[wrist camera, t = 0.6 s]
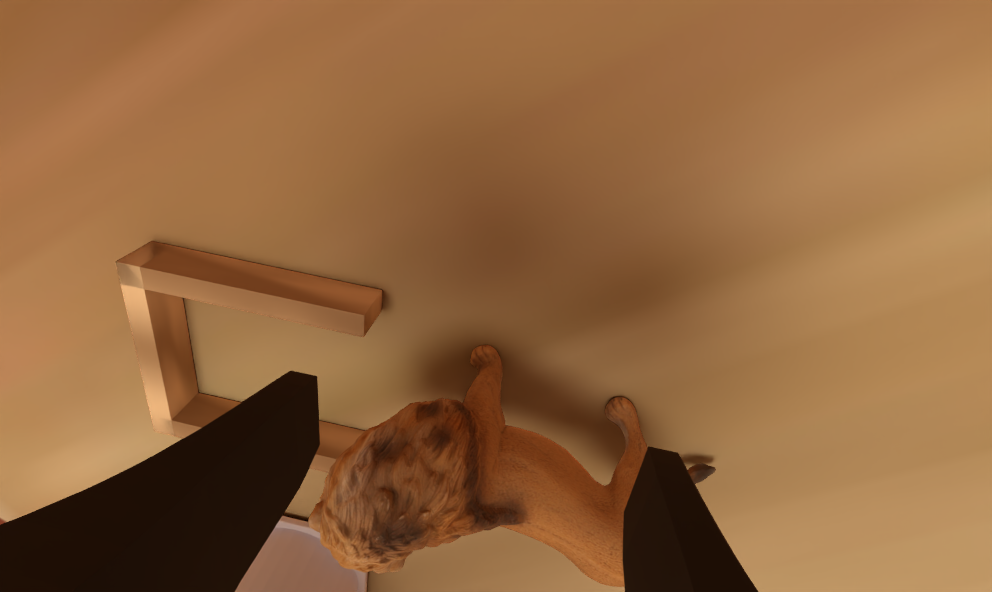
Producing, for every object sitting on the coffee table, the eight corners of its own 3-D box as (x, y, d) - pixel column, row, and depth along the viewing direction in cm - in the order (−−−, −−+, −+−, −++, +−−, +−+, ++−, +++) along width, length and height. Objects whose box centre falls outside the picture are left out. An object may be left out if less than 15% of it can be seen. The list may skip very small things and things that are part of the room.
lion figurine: (381, 406, 26) (287, 589, 18) (397, 313, 23) (294, 480, 15) (689, 496, 25) (729, 723, 17) (741, 412, 22) (817, 636, 15)
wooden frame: (374, 448, 27) (359, 480, 25) (182, 403, 28) (154, 431, 26) (382, 290, 22) (364, 315, 21) (151, 241, 23) (115, 261, 21)
